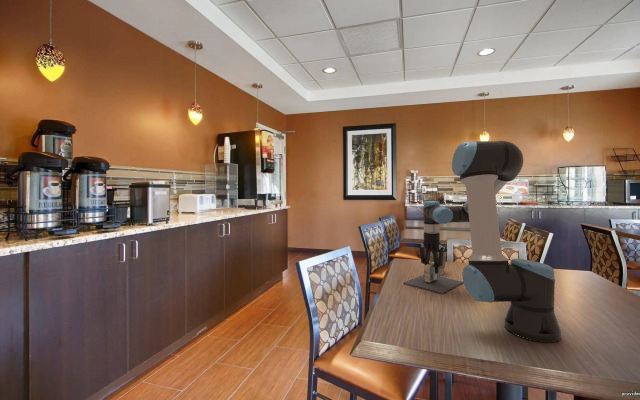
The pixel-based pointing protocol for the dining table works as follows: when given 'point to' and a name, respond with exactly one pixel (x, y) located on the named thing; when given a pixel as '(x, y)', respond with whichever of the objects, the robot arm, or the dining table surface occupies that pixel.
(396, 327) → the dining table surface
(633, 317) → the dining table surface
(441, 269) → the coffee cup
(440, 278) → the mat
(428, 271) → the tan and green block
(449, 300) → the dining table surface
